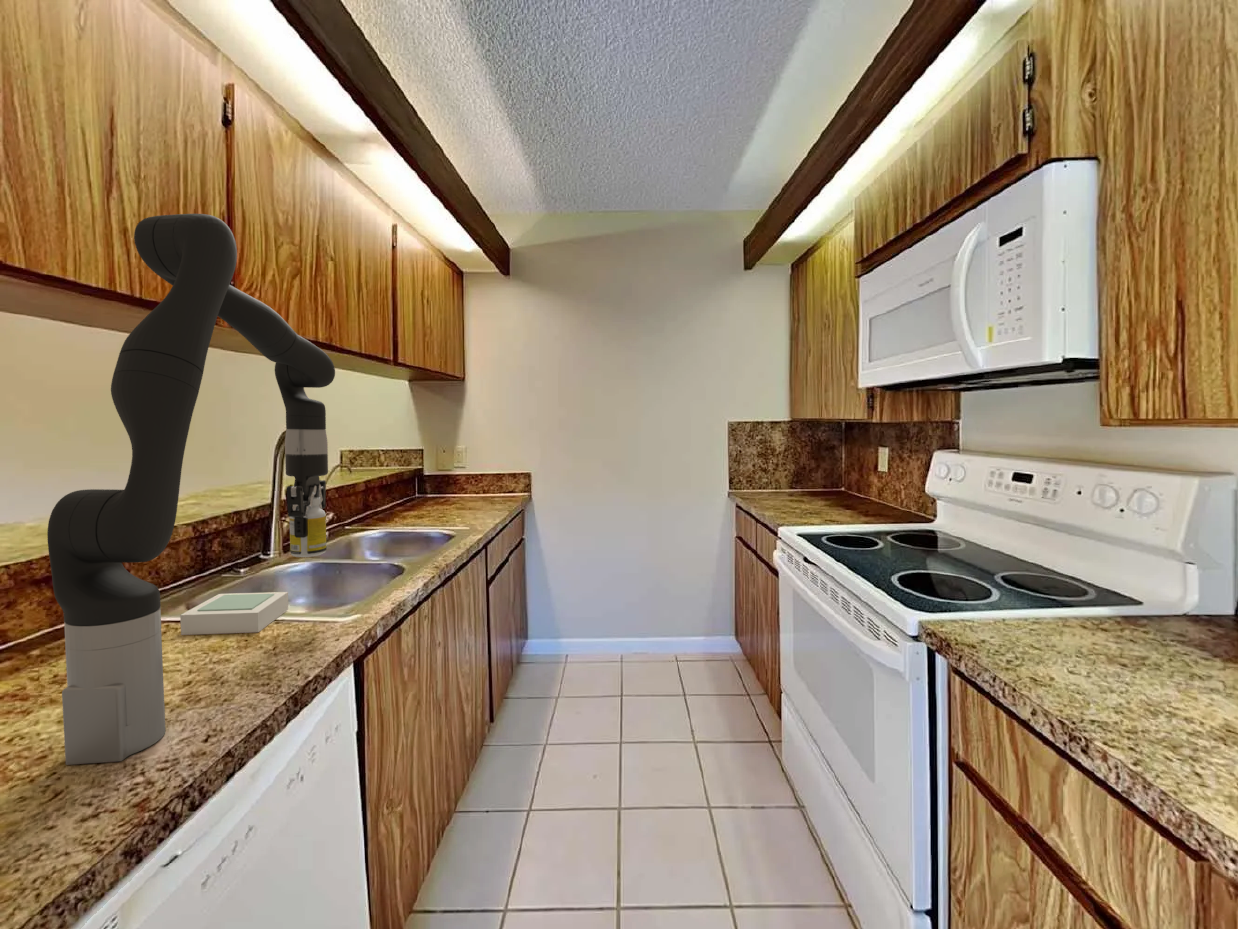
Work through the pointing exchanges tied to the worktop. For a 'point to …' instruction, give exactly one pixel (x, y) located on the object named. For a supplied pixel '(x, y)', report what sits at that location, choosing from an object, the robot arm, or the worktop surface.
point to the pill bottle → (310, 533)
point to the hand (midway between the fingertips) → (308, 533)
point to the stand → (234, 613)
